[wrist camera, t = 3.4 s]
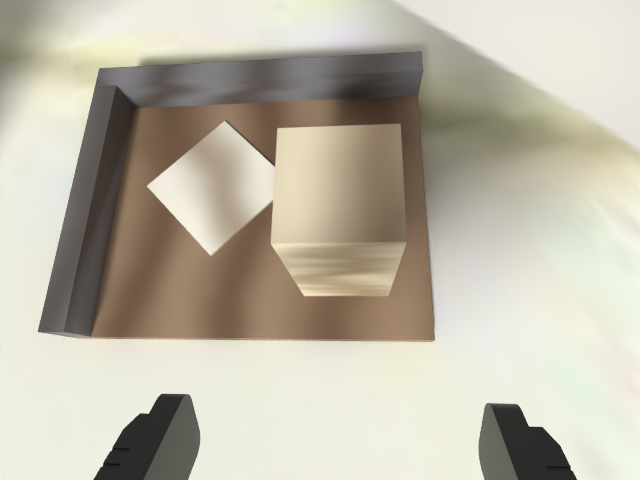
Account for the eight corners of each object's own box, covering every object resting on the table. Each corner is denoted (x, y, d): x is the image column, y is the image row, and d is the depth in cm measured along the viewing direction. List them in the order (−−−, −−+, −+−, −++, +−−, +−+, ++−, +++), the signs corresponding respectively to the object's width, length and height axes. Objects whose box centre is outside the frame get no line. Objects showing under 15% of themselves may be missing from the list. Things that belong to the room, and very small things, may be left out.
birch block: (304, 296, 25) (270, 243, 15) (306, 216, 27) (277, 125, 17) (388, 296, 24) (406, 241, 15) (385, 215, 26) (400, 120, 17)
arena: (78, 338, 26) (37, 331, 23) (126, 100, 32) (99, 68, 29) (431, 341, 24) (443, 335, 21) (414, 87, 30) (421, 51, 27)
